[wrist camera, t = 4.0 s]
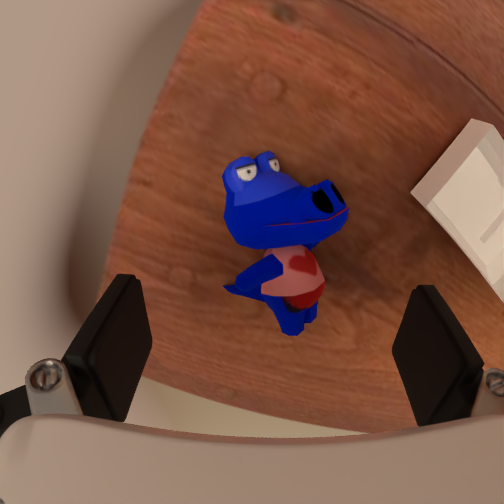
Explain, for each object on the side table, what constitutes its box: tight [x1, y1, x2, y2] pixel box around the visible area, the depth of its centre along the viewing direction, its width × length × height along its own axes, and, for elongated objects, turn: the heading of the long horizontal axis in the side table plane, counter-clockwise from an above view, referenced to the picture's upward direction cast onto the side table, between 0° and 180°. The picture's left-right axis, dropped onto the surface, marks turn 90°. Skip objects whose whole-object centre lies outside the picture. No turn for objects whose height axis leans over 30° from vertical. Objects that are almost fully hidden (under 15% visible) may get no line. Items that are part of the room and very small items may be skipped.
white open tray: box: [410, 118, 504, 303], centre depth 13 cm, size 5×9×3 cm, turn 54°
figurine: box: [222, 151, 349, 336], centre depth 14 cm, size 5×8×5 cm, turn 179°
